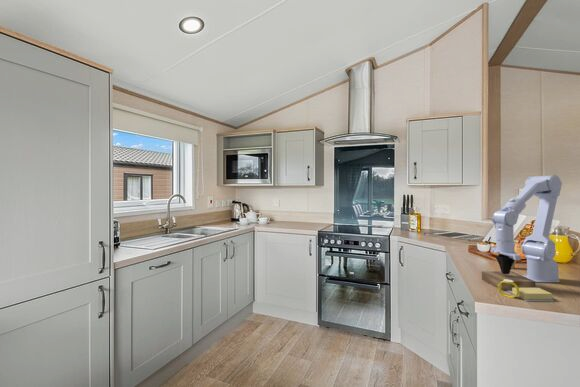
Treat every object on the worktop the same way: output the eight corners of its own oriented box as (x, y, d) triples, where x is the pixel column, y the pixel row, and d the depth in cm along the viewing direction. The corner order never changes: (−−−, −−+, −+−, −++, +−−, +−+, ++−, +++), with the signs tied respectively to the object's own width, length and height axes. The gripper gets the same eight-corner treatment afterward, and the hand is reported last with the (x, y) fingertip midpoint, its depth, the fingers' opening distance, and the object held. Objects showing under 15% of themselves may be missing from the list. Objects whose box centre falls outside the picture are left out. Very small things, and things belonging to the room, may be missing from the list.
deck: (511, 279, 119) (511, 271, 119) (535, 290, 106) (535, 281, 106) (481, 279, 120) (481, 271, 120) (501, 290, 107) (501, 281, 107)
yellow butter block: (552, 293, 96) (552, 299, 96) (538, 287, 102) (538, 293, 102) (524, 293, 97) (524, 299, 97) (512, 287, 103) (512, 292, 103)
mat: (531, 290, 106) (531, 289, 106) (555, 301, 95) (555, 300, 95) (506, 290, 106) (506, 289, 106) (526, 301, 96) (526, 300, 96)
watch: (519, 298, 100) (520, 282, 99) (517, 300, 98) (518, 284, 97) (499, 292, 104) (500, 277, 104) (496, 294, 103) (497, 278, 102)
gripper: (483, 237, 121) (484, 268, 121) (506, 243, 106) (507, 279, 107) (500, 237, 120) (501, 268, 120) (526, 243, 106) (527, 279, 106)
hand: (505, 273), depth 113 cm, fingers closed
